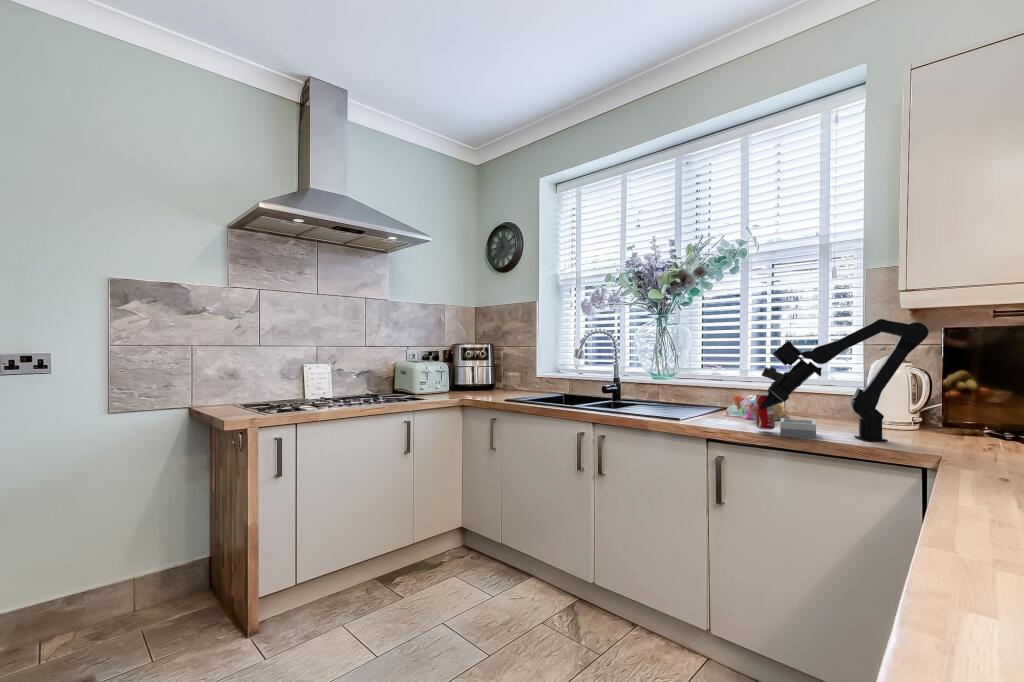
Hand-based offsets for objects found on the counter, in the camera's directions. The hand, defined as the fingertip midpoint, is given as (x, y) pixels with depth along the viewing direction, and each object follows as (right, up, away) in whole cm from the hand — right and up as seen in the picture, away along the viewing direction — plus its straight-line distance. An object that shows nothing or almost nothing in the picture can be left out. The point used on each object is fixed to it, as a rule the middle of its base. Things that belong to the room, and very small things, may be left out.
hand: (760, 407), depth 171 cm
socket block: (+9, -8, -6) cm, 14 cm away
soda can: (+1, -7, -1) cm, 7 cm away
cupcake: (+10, -9, +19) cm, 23 cm away
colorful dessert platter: (+16, -9, +36) cm, 41 cm away
